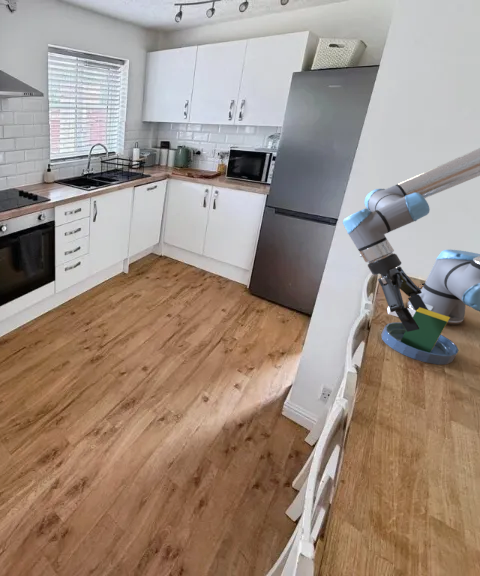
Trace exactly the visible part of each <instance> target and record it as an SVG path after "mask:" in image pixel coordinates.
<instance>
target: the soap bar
mask: <svg viewBox="0 0 480 576" xmlns="http://www.w3.org/2000/svg"><path fill="white" fill-rule="evenodd" d="M407 309H408V310H409V312H410V314H411V315H412V317H413V316H414V314H415V312H416V311H415V310H413V309H409V308H407ZM386 310H387V315H390V316H394V317H397V318H399V317H398V315H397V314H396V312H395V311H394V312H391V311H390V308H389V306H387V309H386Z"/></svg>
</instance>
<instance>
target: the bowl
mask: <svg viewBox="0 0 480 576" xmlns="http://www.w3.org/2000/svg"><path fill="white" fill-rule="evenodd" d="M405 332H406V329H405V327H404V325H403V324H402V322H401V321H397V322H396V321H395V322H393V321H392V322H389V323H387V324H385V326H384V328H383V330H382V332H381V340H382V341H383V342H384V343H385V345H387V346H388V347H390V348H391V349H392V350H394V351H395V352H397V353H400V354H401V355H404V356H405V357H408V358H410V359H412V360H416V361H420V362H422V363H426V364H431V365H432V364H433V365H448V364H451V363H453V361H454V360H455V358H456V357H457V355H458V353H459V348H458V346H457V344H455V343H454V342H453V341H452V340H451V339H449V338H448V337H446V336H444V335H443V334H441V335H440V336H439V338H438V340H437V342H436V343H435V345H434V347H433V349H432V350H431V352H430V353H429V352H425V351H422V350H418V349H416V348H413V347H411V346H408V345H406V344H404V343H402V342H400V341H401V339H402V337H403V335H404V334H405Z"/></svg>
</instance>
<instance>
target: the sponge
mask: <svg viewBox="0 0 480 576" xmlns="http://www.w3.org/2000/svg"><path fill="white" fill-rule="evenodd" d="M413 319H414V320H415V322H416V323H417V325H418V327H419V329H418V330H413V331H409V332H407V330H406V332H405V334H404V335H403V337H402V339H401V341H400V342H402V343H404V344H406V345H408V346H411V347H413V348H416V349H418V350H422V351H425V352H429V353H430V352H431V350H432V349H433V347H434V345H435V343H436V342H437V340H438V338H439V336H440V335H442V333H443V331H444V329H445V328H446V326H447V325H448V324H447V322H448V320H449V319H450V317H448V316H445V315H442V314H439V313H436V312H433V311H430V310H426V309H423V308H420V307H419V308H418V310H417V311H416V312H415V314H414V316H413Z"/></svg>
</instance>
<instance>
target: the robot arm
mask: <svg viewBox="0 0 480 576" xmlns="http://www.w3.org/2000/svg"><path fill="white" fill-rule="evenodd" d="M478 177H480V147H478V148H476V149H474V150H472V151H470V152H467V153H464V154H463V155H460V156H458V157H456V158H453V159H451V160H449V161H447V162H445V163H442V164H439V165H437V166H436V167H433V168H431V169H428V170H427V171H424V172H422V173H420V174H417V175H415V176H412V177H410V178H409V179H406V180H403V181H401V182H399V183H397V184H395V185H392V186H390V187H387V188H374V189H373V190H371V191H370V192H368V193H367V194H366V196H365V198H364V206H365V208H363V209H361V210H359V211H356V212H354V213H352V214H350V215H348V216H346V217H345V218H343V220H342V224H343V226H344V228H345V230H346V232H347V235H348V236H349V238H350V239H351V241H352V243H353V244H354V245H355V247H356V249H357V251H358V252H359V257H360V258H362V259H363V260H364V262H365V263H368V264H367V268H368V269H369V271H370V273H371V274H372V275H373V276H377V275H380V276H381V277H379V278H378V279H377V281H378V283H379V285H380V287H381V290H382V292H383V295H384V297H385V300H386V303H387V305H388V306H389V308H390V311H391V312H394V311H395V312H396V314H397V315H398V317H397V318H398V319H399V321H400V322H402V324H403V325H404V327H405V329H406V330H407V332H409V331H413V330H418V329H419V327H418V325H417V323H416V322H415V320H414V319H413V317H412V315H411V314H410V312H409V310H408V309H407V308H409V309H413V310H415V311H417V310H418V308H419V307H420V308H423V309H426V310H430V311H433V312H436V313H439V314H442V315H445V316H448V317H450V319H449V320H448V322H447V324H446V325H448V326H449V325H450V326H457V325H461V324H462V323H463V321H464V319H465V315H466V306H467V307H469V308H471V309H473V310H475V311H477V312H480V253H477V252H472V251H466V250H460V249H443V250H442V251H441V252H440V253H439V254H438V256H437V257H436V259H435V262H434V264H433V266H432V268H431V270H430V272H429V273H428V276H427V277H426V280H425V281H424V282H423V283H421V284H422V285H424V286H422V287H421V288H422V289H421V288H419V285H418V286H417V285H416V283H414V281H413V280H412V279H411V277H410V276H408V275H407V274H406V272H405V271H404V270H403V268H402V267H401V265H402V261H401V260H400V258H399V256H398V254H397V253H394V252H395V249H394V248H393V246H392V244H391V243H390V242H389V240H388V238H387V237H386V234H389V233H391V232H393V231H395V230H397V229H400V228H402V227H405V226H407V225H409V224H411V223H414V222H417V221H418V220H420V219H422V218H424V217H426V216H427V215H429V213H430V210H431V207H430V205H429V202H428V201H427V200H426V199H427V198H430V197H432V196H434V195H437V194H439V193H442V192H444V191H446V190H448V189H451V188H453V187H456V186H458V185H461V184H463V183H466V182H468V181H470V180H473V179H476V178H478ZM401 291H402V292H403V293H404V294H405V295H406V296H407V297H408V298H407V299H408V301H407V302H406V306H405V303H404V300H403V297H402V293H401ZM388 306H387V307H388Z"/></svg>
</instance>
